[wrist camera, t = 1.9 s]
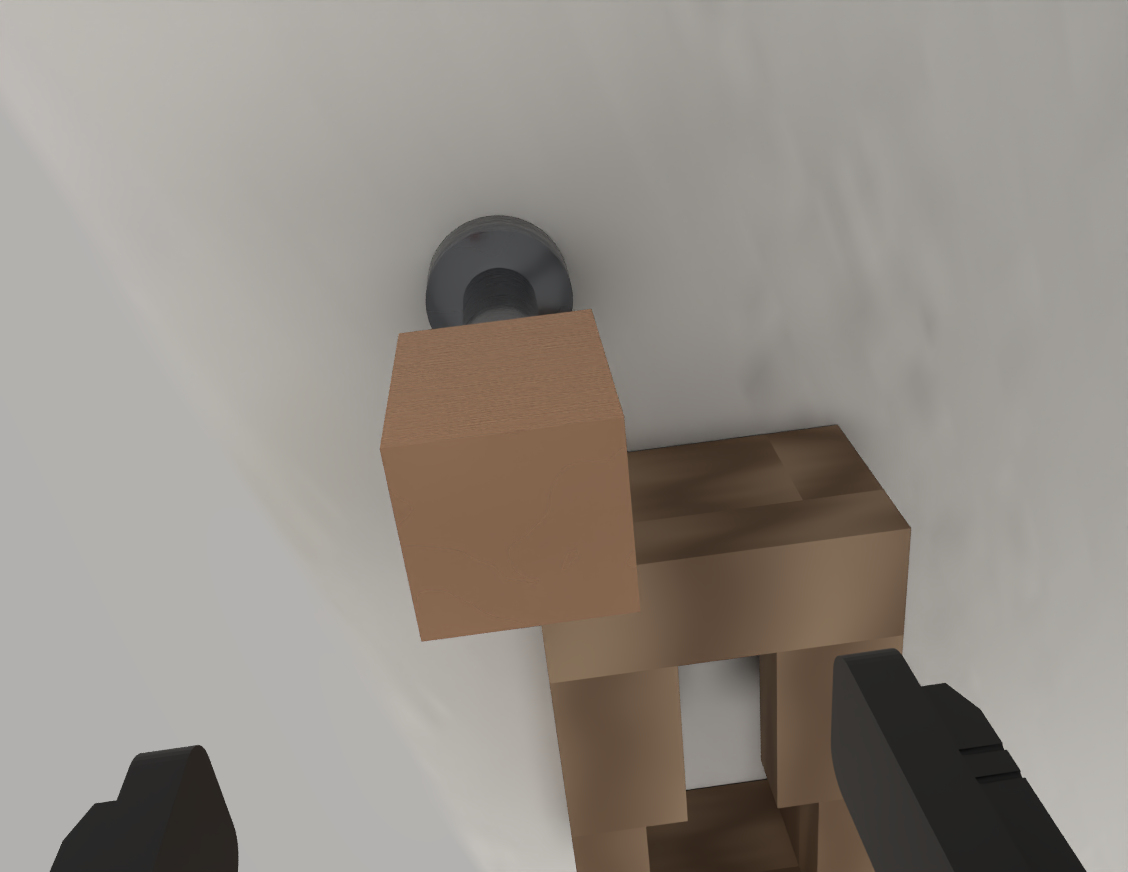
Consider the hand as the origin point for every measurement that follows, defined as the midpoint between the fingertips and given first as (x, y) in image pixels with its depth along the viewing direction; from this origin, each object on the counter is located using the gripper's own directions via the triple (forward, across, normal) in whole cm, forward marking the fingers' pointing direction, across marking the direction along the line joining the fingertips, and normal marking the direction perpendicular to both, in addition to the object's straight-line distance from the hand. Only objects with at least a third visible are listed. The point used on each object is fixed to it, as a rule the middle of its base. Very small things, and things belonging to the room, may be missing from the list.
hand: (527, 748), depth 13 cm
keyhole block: (+18, -5, +14) cm, 23 cm away
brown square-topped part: (+18, 0, 0) cm, 18 cm away
